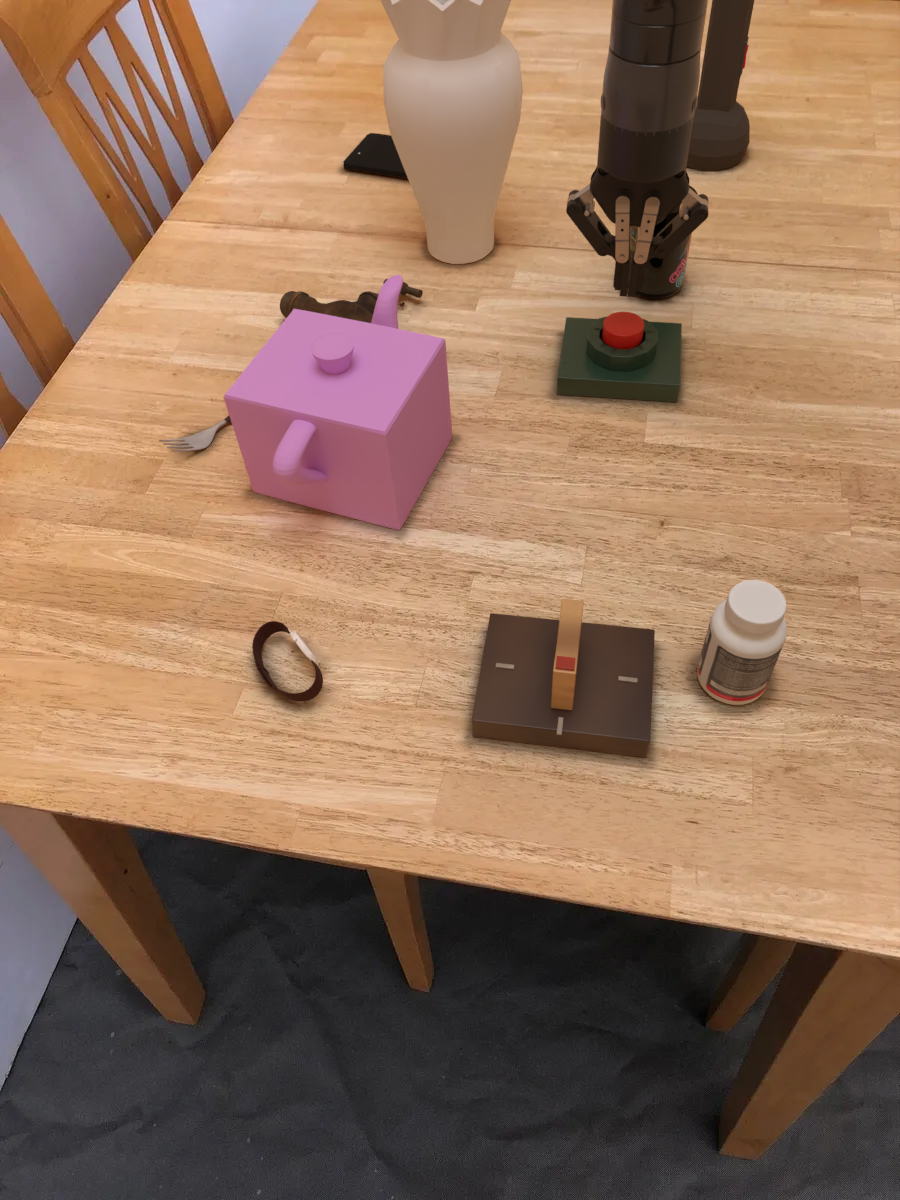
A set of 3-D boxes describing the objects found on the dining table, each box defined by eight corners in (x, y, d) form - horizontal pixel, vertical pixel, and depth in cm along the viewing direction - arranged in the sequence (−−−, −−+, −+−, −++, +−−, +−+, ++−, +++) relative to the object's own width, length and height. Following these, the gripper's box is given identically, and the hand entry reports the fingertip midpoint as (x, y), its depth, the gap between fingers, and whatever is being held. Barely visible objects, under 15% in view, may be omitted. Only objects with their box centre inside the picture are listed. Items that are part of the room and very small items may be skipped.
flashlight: (662, 167, 119) (741, 176, 117) (692, -59, 100) (787, -55, 97) (676, 131, 125) (751, 139, 123) (706, -90, 105) (796, -87, 103)
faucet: (263, 340, 102) (351, 286, 110) (382, 386, 94) (466, 325, 103) (255, 299, 98) (346, 247, 107) (378, 344, 91) (466, 284, 99)
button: (643, 327, 94) (645, 312, 92) (641, 351, 91) (643, 336, 90) (603, 324, 94) (604, 310, 93) (600, 349, 92) (602, 334, 90)
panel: (651, 643, 74) (655, 624, 72) (646, 762, 68) (650, 744, 66) (491, 627, 76) (490, 608, 74) (471, 741, 70) (470, 723, 68)
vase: (411, 290, 106) (382, 8, 83) (390, 224, 115) (359, -48, 92) (536, 269, 107) (541, -16, 84) (505, 205, 116) (502, -68, 93)
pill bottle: (781, 690, 71) (813, 614, 63) (722, 717, 70) (748, 643, 62) (739, 639, 74) (765, 561, 66) (682, 664, 73) (702, 587, 65)
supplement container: (663, 309, 101) (677, 220, 93) (611, 288, 104) (619, 200, 96) (695, 279, 104) (710, 191, 96) (643, 260, 107) (654, 172, 99)
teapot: (478, 391, 94) (473, 269, 83) (377, 570, 81) (355, 451, 70) (345, 363, 98) (323, 243, 87) (227, 528, 85) (184, 410, 74)
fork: (303, 386, 97) (300, 370, 95) (178, 466, 90) (172, 451, 89) (287, 375, 98) (284, 360, 96) (163, 454, 91) (157, 439, 90)
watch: (340, 688, 73) (332, 662, 71) (288, 719, 72) (279, 694, 69) (292, 626, 77) (284, 599, 75) (243, 654, 76) (232, 628, 73)
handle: (559, 637, 72) (562, 596, 68) (580, 639, 72) (584, 598, 68) (550, 708, 68) (553, 669, 64) (572, 711, 68) (576, 672, 64)
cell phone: (467, 189, 119) (467, 182, 118) (342, 170, 123) (341, 163, 123) (491, 156, 124) (491, 149, 123) (369, 138, 128) (369, 131, 128)
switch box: (678, 340, 98) (684, 308, 95) (677, 402, 92) (682, 370, 89) (565, 334, 99) (567, 302, 96) (556, 394, 94) (557, 362, 90)
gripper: (731, 86, 76) (698, 272, 90) (570, 83, 78) (562, 266, 92) (732, 130, 72) (697, 319, 85) (562, 126, 74) (554, 311, 87)
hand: (627, 291), depth 89 cm, fingers closed
